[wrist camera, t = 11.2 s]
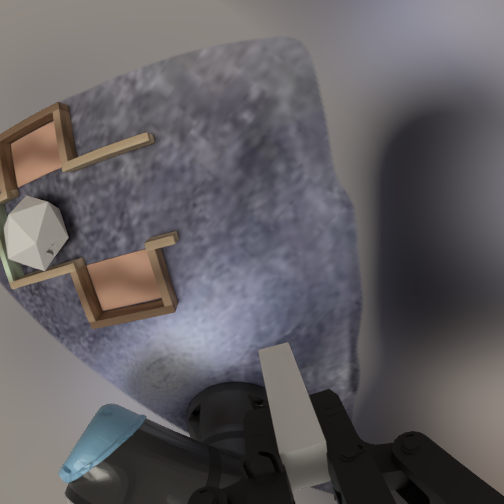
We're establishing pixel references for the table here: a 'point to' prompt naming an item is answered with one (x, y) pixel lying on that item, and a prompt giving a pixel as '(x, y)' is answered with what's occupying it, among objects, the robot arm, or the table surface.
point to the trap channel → (102, 273)
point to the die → (34, 233)
